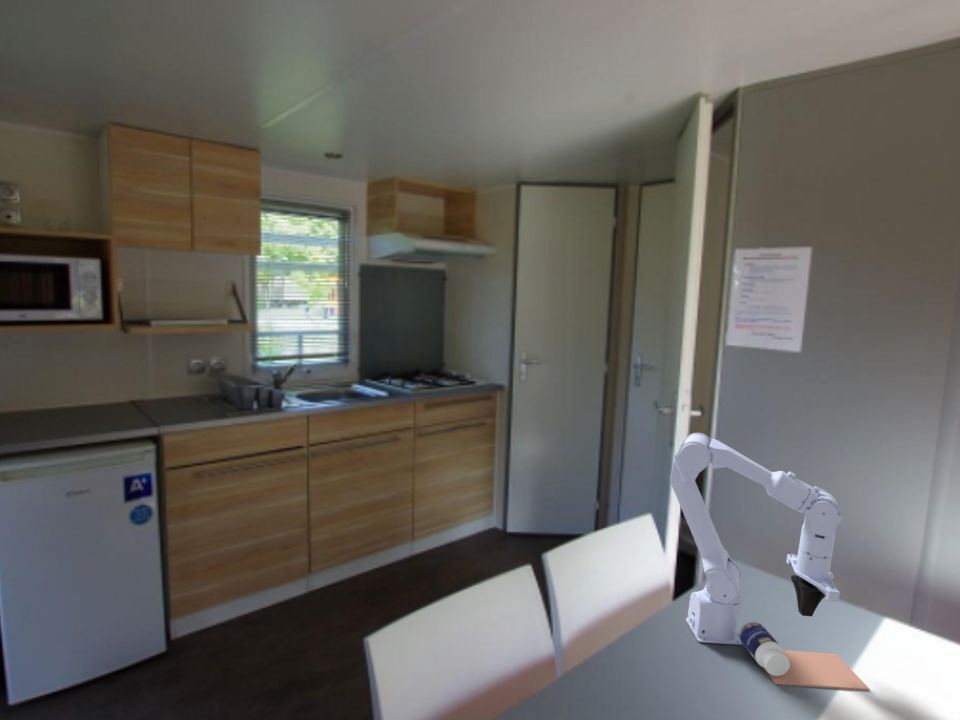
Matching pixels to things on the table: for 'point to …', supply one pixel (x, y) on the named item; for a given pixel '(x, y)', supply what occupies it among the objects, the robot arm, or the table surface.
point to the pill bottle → (764, 648)
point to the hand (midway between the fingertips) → (805, 614)
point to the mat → (818, 672)
